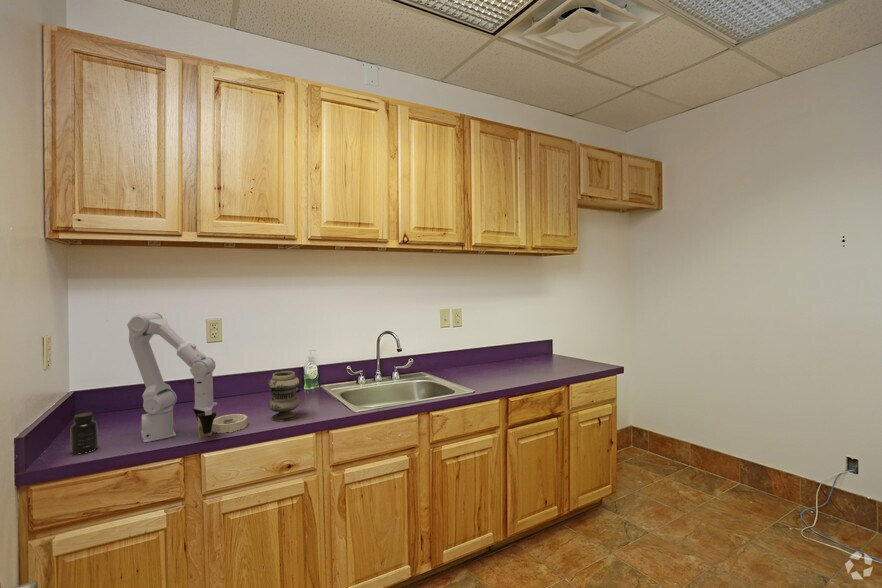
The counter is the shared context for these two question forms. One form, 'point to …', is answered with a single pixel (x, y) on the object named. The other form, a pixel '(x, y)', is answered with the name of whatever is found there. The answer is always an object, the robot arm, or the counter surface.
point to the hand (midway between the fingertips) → (204, 430)
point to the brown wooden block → (200, 430)
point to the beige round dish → (229, 423)
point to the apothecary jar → (284, 395)
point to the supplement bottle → (84, 433)
